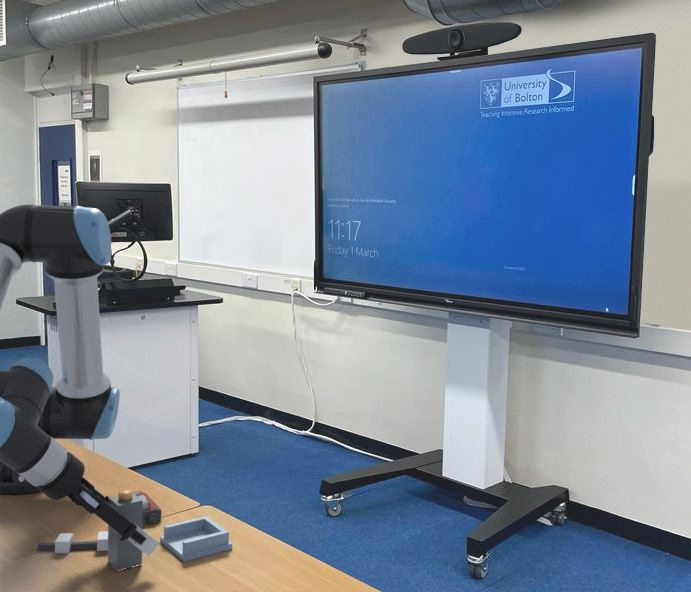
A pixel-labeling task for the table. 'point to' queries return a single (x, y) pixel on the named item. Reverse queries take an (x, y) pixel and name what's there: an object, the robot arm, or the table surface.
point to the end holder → (195, 538)
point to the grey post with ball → (120, 551)
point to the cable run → (75, 543)
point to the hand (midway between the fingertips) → (141, 538)
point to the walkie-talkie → (149, 509)
